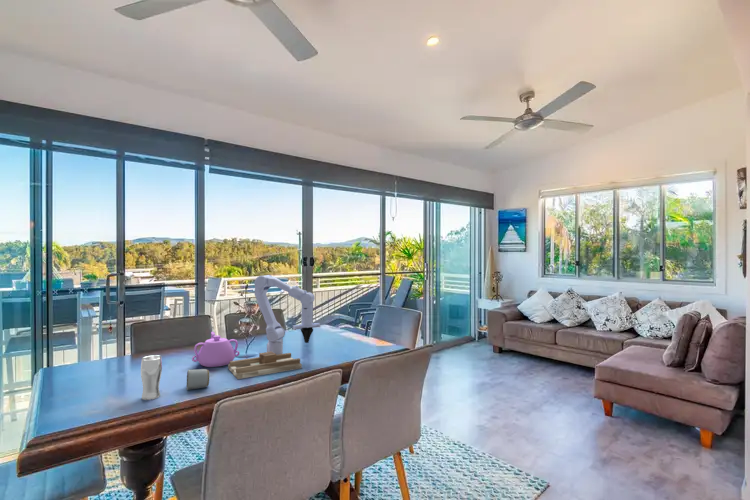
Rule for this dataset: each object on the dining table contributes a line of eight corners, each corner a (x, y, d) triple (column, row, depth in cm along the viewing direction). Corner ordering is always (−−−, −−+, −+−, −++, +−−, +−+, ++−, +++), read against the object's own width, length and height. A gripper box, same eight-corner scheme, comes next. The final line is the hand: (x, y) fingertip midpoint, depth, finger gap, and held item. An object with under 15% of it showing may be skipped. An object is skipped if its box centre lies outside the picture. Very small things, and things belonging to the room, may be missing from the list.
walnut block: (259, 363, 182) (259, 353, 182) (270, 361, 185) (271, 351, 186) (264, 366, 177) (264, 356, 177) (276, 364, 181) (276, 354, 181)
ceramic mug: (209, 389, 153) (210, 370, 154) (187, 392, 149) (187, 372, 149) (206, 381, 163) (207, 363, 163) (185, 384, 158) (185, 366, 159)
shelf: (228, 368, 180) (228, 360, 180) (288, 359, 196) (288, 351, 196) (237, 379, 166) (237, 370, 166) (301, 368, 182) (301, 360, 182)
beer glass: (146, 393, 147) (146, 355, 147) (164, 393, 148) (165, 355, 148) (136, 400, 140) (137, 360, 140) (155, 400, 141) (156, 360, 141)
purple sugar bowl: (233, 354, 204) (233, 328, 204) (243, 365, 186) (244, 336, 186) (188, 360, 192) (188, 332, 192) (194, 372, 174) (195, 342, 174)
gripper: (296, 318, 188) (296, 345, 188) (323, 316, 196) (322, 342, 196) (291, 316, 194) (290, 342, 193) (317, 314, 202) (316, 339, 202)
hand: (306, 342), depth 195 cm, fingers closed
